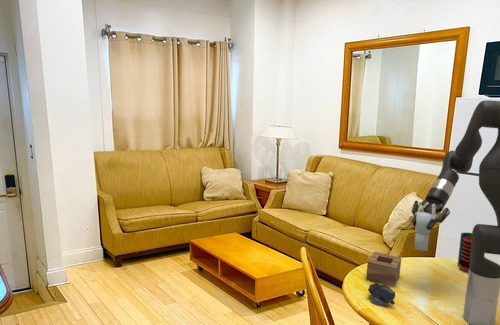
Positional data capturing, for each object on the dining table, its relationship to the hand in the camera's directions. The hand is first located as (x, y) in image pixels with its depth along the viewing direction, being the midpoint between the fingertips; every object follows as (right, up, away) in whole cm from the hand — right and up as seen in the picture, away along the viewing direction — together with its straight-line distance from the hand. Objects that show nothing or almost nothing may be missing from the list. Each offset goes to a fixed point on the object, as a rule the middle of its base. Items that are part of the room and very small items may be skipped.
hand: (420, 226), depth 147 cm
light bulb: (+1, -9, +3) cm, 9 cm away
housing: (-10, -23, +11) cm, 28 cm away
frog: (-18, -26, -7) cm, 32 cm away
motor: (+31, -23, +22) cm, 45 cm away
